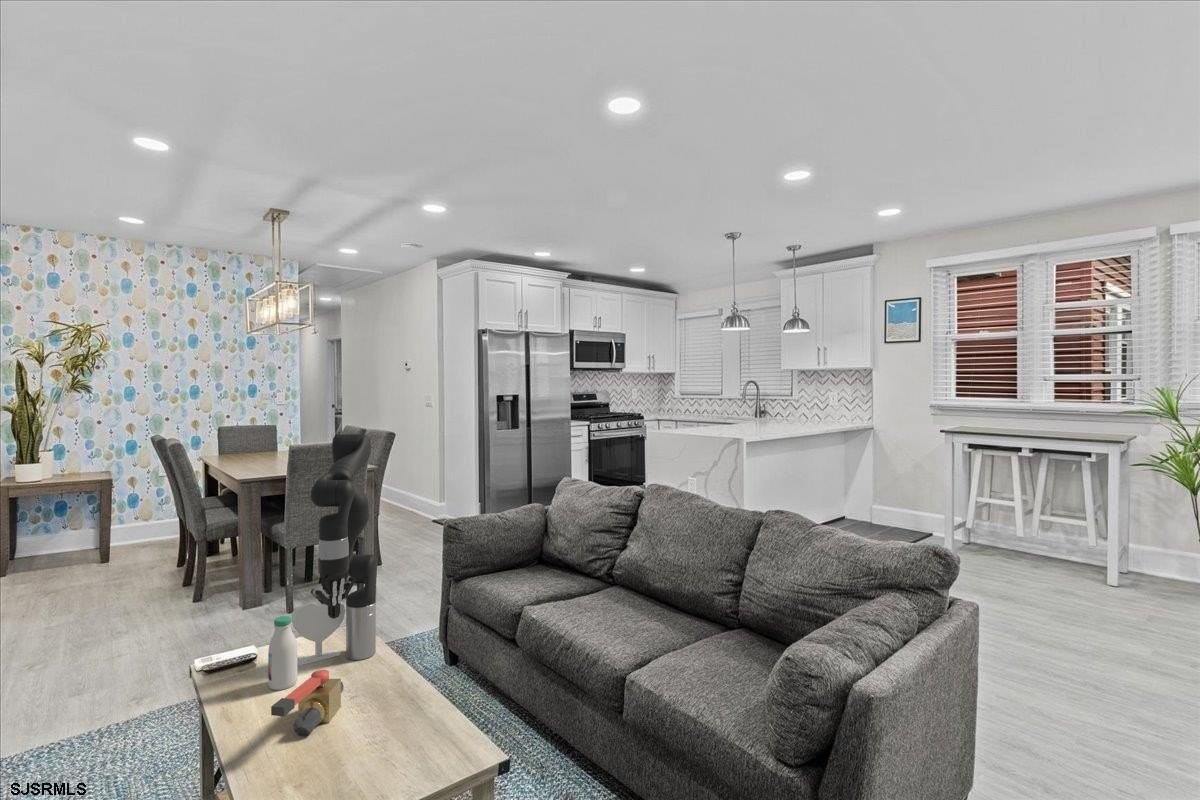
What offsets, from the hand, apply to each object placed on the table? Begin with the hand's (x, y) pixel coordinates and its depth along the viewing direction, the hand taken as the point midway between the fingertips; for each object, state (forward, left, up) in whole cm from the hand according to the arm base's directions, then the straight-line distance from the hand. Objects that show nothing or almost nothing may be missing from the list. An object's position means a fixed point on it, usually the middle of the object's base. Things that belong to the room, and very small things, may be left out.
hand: (334, 617), depth 164 cm
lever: (+7, -5, -18) cm, 20 cm away
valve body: (-1, -4, -27) cm, 28 cm away
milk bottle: (-18, -22, -27) cm, 40 cm away
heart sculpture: (-36, -19, -28) cm, 49 cm away
